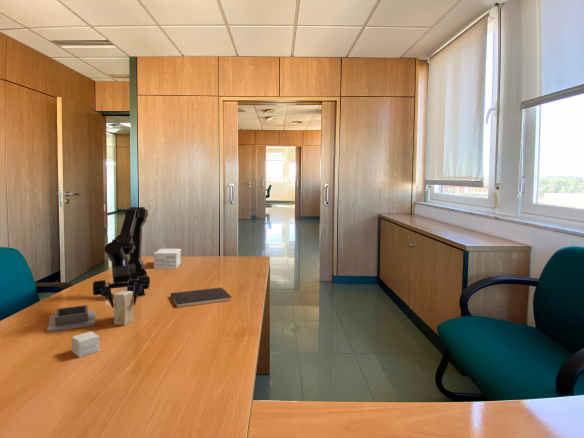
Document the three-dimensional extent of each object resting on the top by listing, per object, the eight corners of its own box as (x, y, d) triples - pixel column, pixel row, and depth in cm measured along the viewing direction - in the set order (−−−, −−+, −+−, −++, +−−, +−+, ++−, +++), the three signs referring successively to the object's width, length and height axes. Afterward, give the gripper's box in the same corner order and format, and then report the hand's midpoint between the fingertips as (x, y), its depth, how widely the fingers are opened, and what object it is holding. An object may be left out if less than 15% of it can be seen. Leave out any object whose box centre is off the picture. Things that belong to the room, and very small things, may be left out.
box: (124, 326, 126) (123, 295, 125) (113, 324, 127) (112, 294, 126) (133, 320, 132) (133, 290, 130) (123, 319, 132) (122, 290, 131)
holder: (94, 312, 139) (93, 302, 138) (95, 325, 127) (94, 314, 126) (50, 318, 132) (50, 307, 131) (47, 332, 120) (46, 320, 119)
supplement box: (177, 268, 212) (176, 253, 211) (153, 269, 210) (153, 253, 209) (181, 262, 229) (181, 248, 228) (159, 262, 227) (159, 248, 226)
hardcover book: (231, 301, 156) (231, 296, 156) (176, 309, 146) (176, 303, 146) (221, 291, 170) (221, 287, 170) (170, 297, 160) (170, 292, 160)
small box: (91, 345, 111) (91, 330, 111) (100, 351, 107) (99, 335, 107) (71, 352, 107) (70, 336, 106) (79, 358, 103) (78, 341, 103)
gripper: (92, 258, 126) (93, 298, 117) (148, 254, 135) (154, 291, 127) (92, 275, 133) (93, 314, 125) (146, 270, 143) (151, 306, 134)
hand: (124, 305), depth 128 cm, fingers open, 7 cm apart
